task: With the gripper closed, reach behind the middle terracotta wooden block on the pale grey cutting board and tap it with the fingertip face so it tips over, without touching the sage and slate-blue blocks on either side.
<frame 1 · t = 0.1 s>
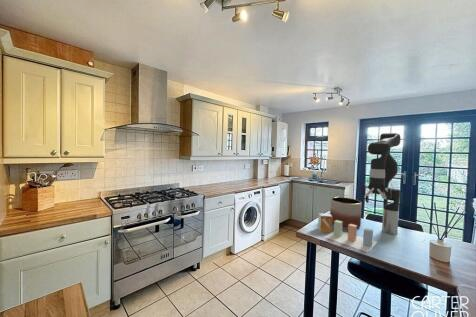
hand: (375, 203, 119), 29 cm above the table, fingers open, 8 cm apart
small box: (324, 232, 149), on the table
terracotta block: (351, 240, 133), point 1 cm above the table, touching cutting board
slate blue block: (367, 245, 127), point 1 cm above the table, touching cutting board
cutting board: (350, 241, 134), on the table
planter: (344, 224, 165), on the table
sage block: (337, 235, 140), point 1 cm above the table, touching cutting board
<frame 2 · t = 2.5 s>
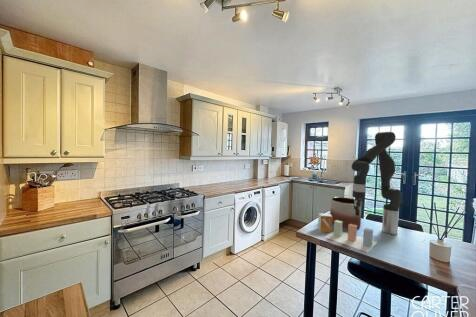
hand: (357, 215, 139), 16 cm above the table, fingers closed
nothing on the table moved.
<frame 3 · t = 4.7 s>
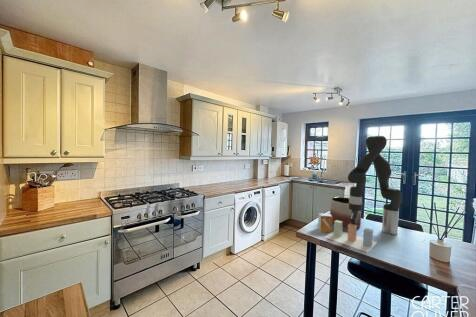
hand: (354, 228, 136), 8 cm above the table, fingers closed
nothing on the table moved.
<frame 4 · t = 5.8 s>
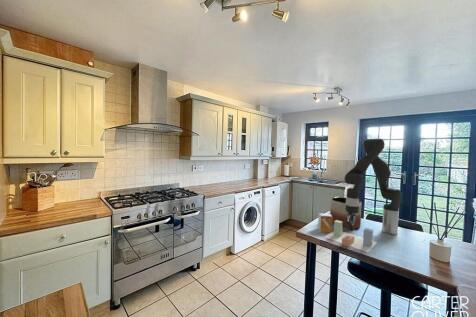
hand: (350, 230, 131), 8 cm above the table, fingers closed
terracotta block: (350, 238, 132), point 3 cm above the table, tilted 90°, touching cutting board
everything else where it was.
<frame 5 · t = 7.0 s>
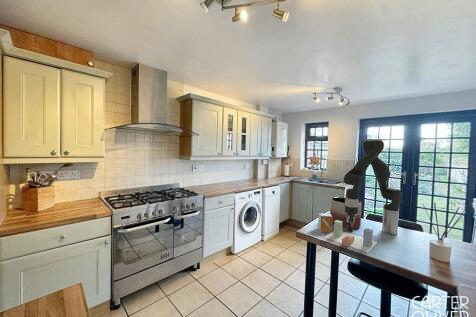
hand: (350, 231, 130), 8 cm above the table, fingers closed
nothing on the table moved.
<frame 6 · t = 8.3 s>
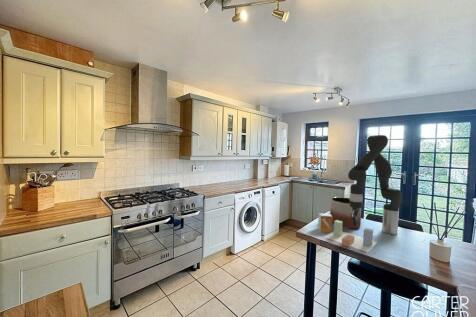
hand: (354, 225, 136), 10 cm above the table, fingers closed
nothing on the table moved.
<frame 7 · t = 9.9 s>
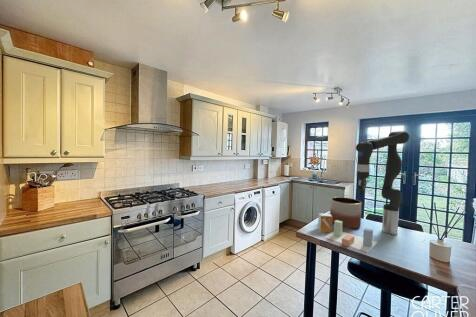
hand: (361, 195, 143), 29 cm above the table, fingers closed
nothing on the table moved.
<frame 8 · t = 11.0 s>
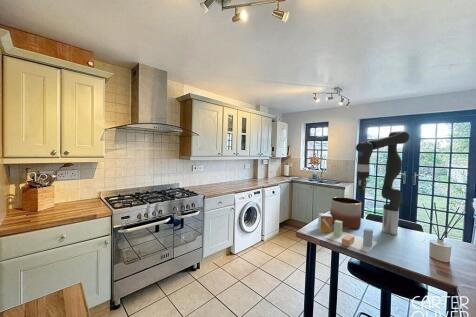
hand: (361, 195, 143), 29 cm above the table, fingers closed
nothing on the table moved.
at the end: terracotta block tilted 90°; sage block tilted 0°; slate blue block tilted 0° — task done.
